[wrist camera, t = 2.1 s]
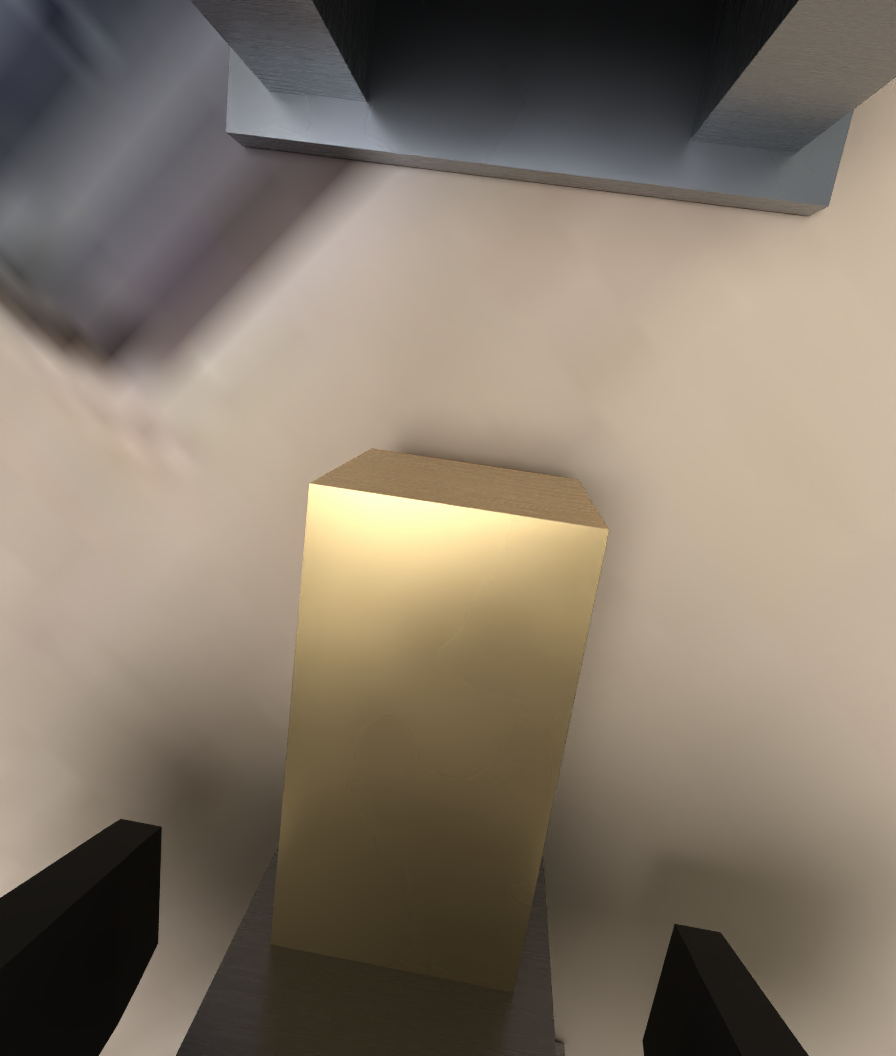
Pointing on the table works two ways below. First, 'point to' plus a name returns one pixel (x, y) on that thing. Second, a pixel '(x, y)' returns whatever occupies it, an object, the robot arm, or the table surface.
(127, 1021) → the table surface
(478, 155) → the grey square bracket
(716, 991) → the robot arm
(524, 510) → the two-tone block
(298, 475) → the table surface
